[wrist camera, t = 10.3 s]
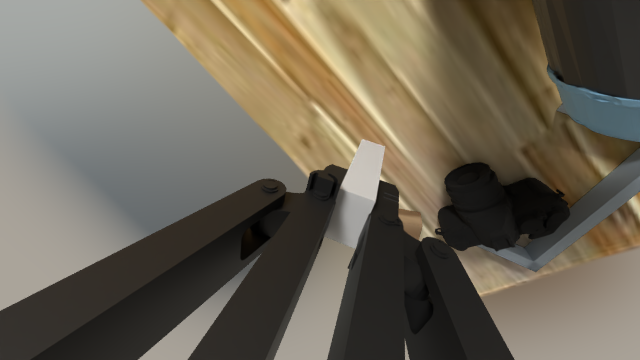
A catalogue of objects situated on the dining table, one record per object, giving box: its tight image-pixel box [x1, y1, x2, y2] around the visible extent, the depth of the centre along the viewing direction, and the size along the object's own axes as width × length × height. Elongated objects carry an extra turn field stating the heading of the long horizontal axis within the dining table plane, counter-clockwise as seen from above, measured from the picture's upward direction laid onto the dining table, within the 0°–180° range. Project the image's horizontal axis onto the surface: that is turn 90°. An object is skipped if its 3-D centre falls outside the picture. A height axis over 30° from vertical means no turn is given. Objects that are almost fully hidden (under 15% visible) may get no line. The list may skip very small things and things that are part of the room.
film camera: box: [435, 162, 570, 252], centre depth 32 cm, size 15×10×9 cm, turn 125°
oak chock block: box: [399, 209, 422, 240], centre depth 40 cm, size 4×6×4 cm, turn 87°
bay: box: [478, 103, 640, 272], centre depth 32 cm, size 22×12×3 cm, turn 161°
